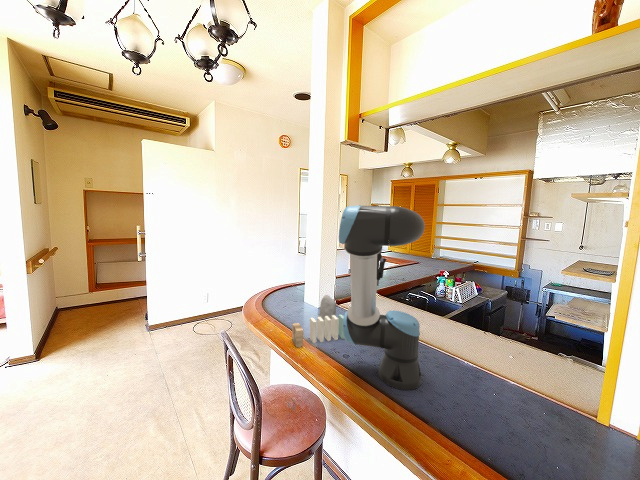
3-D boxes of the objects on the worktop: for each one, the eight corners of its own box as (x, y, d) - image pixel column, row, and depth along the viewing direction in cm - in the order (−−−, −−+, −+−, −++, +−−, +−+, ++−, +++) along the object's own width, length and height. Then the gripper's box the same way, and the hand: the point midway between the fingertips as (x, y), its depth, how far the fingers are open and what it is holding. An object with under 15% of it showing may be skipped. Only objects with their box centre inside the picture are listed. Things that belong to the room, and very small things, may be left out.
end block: (303, 346, 118) (303, 330, 117) (296, 347, 117) (296, 331, 116) (298, 338, 125) (298, 322, 125) (292, 339, 124) (292, 323, 124)
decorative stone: (338, 326, 140) (338, 298, 138) (329, 329, 136) (330, 300, 134) (324, 319, 148) (324, 293, 146) (315, 322, 144) (316, 295, 142)
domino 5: (345, 338, 126) (345, 318, 125) (342, 339, 125) (342, 318, 124) (340, 333, 131) (341, 314, 130) (337, 334, 130) (338, 314, 129)
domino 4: (338, 339, 125) (338, 319, 124) (334, 340, 124) (335, 319, 123) (334, 334, 130) (334, 315, 128) (331, 335, 129) (331, 315, 128)
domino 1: (316, 342, 121) (316, 321, 120) (312, 343, 121) (313, 322, 120) (312, 337, 126) (313, 317, 125) (309, 338, 126) (310, 317, 124)
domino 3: (330, 340, 124) (331, 320, 123) (327, 341, 123) (328, 320, 122) (327, 335, 128) (327, 315, 127) (324, 336, 128) (324, 316, 127)
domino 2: (323, 341, 123) (324, 320, 121) (320, 342, 122) (320, 321, 121) (320, 336, 127) (320, 316, 126) (316, 337, 127) (317, 317, 126)
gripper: (383, 243, 134) (381, 289, 137) (355, 244, 129) (354, 291, 132) (392, 245, 127) (389, 293, 130) (363, 246, 122) (361, 296, 125)
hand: (371, 292), depth 131 cm, fingers open, 3 cm apart
